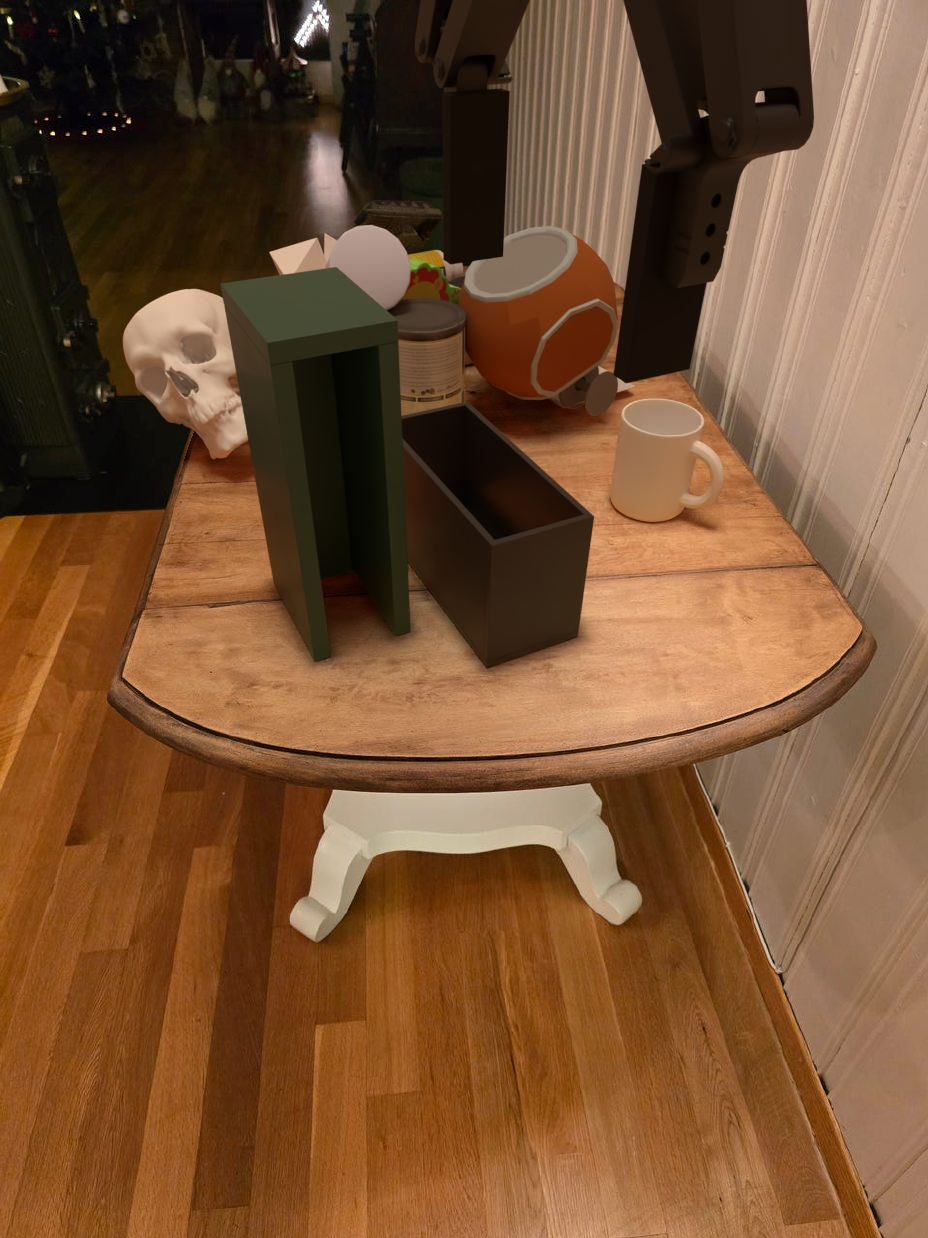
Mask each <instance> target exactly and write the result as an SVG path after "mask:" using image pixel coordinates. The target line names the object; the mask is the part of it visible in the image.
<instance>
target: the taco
mask: <svg viewBox="0 0 928 1238" xmlns="http://www.w3.org/2000/svg"><path fill="white" fill-rule="evenodd" d="M409 262H410V266H411V272H410V283H409V286H408V288H407V291H406V293H405V296H404V297H403V298H402V299H401V300H405V299H413V298H430V299H439V300H444V301H448V302H454V304H457V305H459V296H460V291H461V288H459V287H456V286H453V285H450V284H449V283H448V279H447V277H445V276H444V275H442V271H441V269H440V268H439V267H437V266H434V265H431V264H428V263H427V262H424V261H421V260H418V259H411V260H409ZM470 364H473V363H472V361H471V360H470V358H469V356H468V355H467V353H466V351H465V365H470Z"/></svg>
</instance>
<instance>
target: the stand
mask: <svg viewBox="0 0 928 1238" xmlns="http://www.w3.org/2000/svg"><path fill="white" fill-rule="evenodd" d="M220 291H221V296H222V298H223V302H224V307H225V313H226V318H227V324H228V330H229V335H230V341H231V346H232V352H233V358H234V363H235V369H236V375H237V380H238V386H239V391H240V397H241V403H242V408H243V414H244V419H245V425H246V431H247V436H248V441H247V442H248V448H249V453H250V459H251V464H252V470H253V474H254V481H255V487H256V492H257V498H258V502H259V509H260V514H261V520H262V526H263V531H264V537H265V541H266V548H267V554H268V559H269V564H270V571H271V577H272V581H273V582H272V583H273V585H274V588H275V589H276V591H277V593H278V595H279V597H280V598H281V600H282V602H283V605H284V606H285V608H286V610H287V612H288V614H289V616H290V617H291V619H292V621H293V623H294V626H295V627H296V629H297V632H298V633H299V635H300V637H301V639H302V641H303V643H304V644H305V647H306V648H307V650H308V652H309V654H310V656H311V658H312V659H313V662H320V661H323V660H324V659H328V658H331V656H332V654H331V647H330V641H329V639H330V638H329V631H328V624H327V615H326V609H325V608H326V607H325V600H324V592H323V585H322V581H324V580H328V579H331V578H335V577H339V576H342V575H345V574H348V573H352V572H353V574H355V576H356V578H357V579H358V581H359V582H360V584H361V585H362V587H363V588H364V590H365V592H366V593H367V595H368V597H369V598H370V600H371V602H373V604H374V606H375V607H376V609H377V610H378V612H379V614H381V616H382V617H383V619H384V621H385V622H386V624H387V625H388V627H389V629H390V630H391V632H392V633H393V635H394V636H395V637H397V636H401V635H404V634H407V633H410V632H412V631H411V611H410V609H411V608H410V587H409V583H410V582H409V563H408V558H407V535H406V511H405V487H404V464H403V440H402V416H401V392H400V369H399V345H398V341H399V339H398V320H397V319H396V318H395V317H393V316H392V315H391V314H390V313H389V312H388V311H387V310H385V309H384V308H383V307H382V306H381V305H380V304H379V303H377V302H376V301H375V300H374V299H373V298H372V297H370V296H369V295H368V294H367V293H366V292H365V291H364V290H362V289H361V288H360V287H359V286H358V285H357V284H355V283H354V282H353V281H352V280H351V279H350V278H349V277H347V276H346V275H345V274H344V273H343V272H342V271H341V270H339V269H338V268H337V267H333V268H326V269H319V270H312V271H305V272H298V273H291V274H284V275H279V274H277V275H270V276H265V277H257V278H250V279H243V280H236V281H229V282H222V283H220Z"/></svg>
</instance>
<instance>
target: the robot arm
mask: <svg viewBox="0 0 928 1238" xmlns="http://www.w3.org/2000/svg"><path fill="white" fill-rule="evenodd" d="M530 1H531V0H420V4H419V8H418V9H419V10H418V17H417V23H416V29H415V35H414V36H415V37H414V52H415V56H416V58H417V60H418V62H419V63H420V64H427V63H428V64H430V63H431V64H432V66H433V78H434V81H435V85H437V87H438V88H439V89H443V92H442V216H443V219H442V226H443V227H442V235H443V236H442V241H443V242H442V244H443V246H442V247H443V248H442V249H443V251H442V252H443V260H444V261H446V262H447V263H449V264H450V265H452V264H458V263H462V264H464V263H472V262H473V261H478V260H485V259H491V258H498V257H503V249H504V237H505V223H506V195H507V173H508V171H507V169H508V149H509V148H508V147H509V124H510V123H509V122H510V121H509V120H510V100H511V99H510V97H511V95H510V93H511V91H510V90H508V89H505V88H502V87H501V88H488V86H493V85H507V84H511V82H512V81H513V76H509V75H511V70H510V69H509V66H508V64H507V57H508V55H509V52H510V50H511V47H512V45H513V42H514V41H515V37H516V35H517V33H518V30H519V28H520V26H521V23H522V21H523V18H524V16H525V13H526V11H527V8H528V6H529V4H530ZM622 1H623V5H624V8H625V12H626V16H627V19H628V24H629V27H630V32H631V34H632V39H633V43H634V46H635V49H636V52H637V57H638V61H639V65H640V68H641V72H642V75H643V79H644V84H645V87H646V90H647V95H648V99H649V102H650V105H651V109H652V113H653V117H654V120H655V125H656V128H657V132H658V135H659V138H660V143H661V144H660V145H659V146H658V147H656V148H655V150H654V151H653V152H652V153H650V155H649V158H646V159H645V160H644V163H642V164H641V169H640V176H639V184H638V191H637V198H636V206H635V214H634V221H633V228H632V236H631V242H630V250H629V258H628V263H627V264H628V265H627V271H626V272H627V273H626V278H625V279H626V280H625V287H624V293H623V294H624V295H623V301H622V308H621V315H620V322H619V323H620V324H619V330H618V339H617V346H616V353H615V361H614V366H613V367H614V368H613V373H614V374H613V375H614V376H616V377H617V378H619V379H620V380H621V381H623V382H624V383H630V384H632V383H635V382H639V381H644V380H649V379H652V378H657V377H661V376H665V375H670V374H674V373H679V372H684V371H688V370H690V369H691V364H692V359H693V354H694V350H695V344H696V339H697V333H698V330H699V324H700V319H701V314H702V310H703V305H704V304H703V303H704V299H705V294H706V289H707V283H713V282H715V279H716V277H717V275H718V273H719V271H720V270H721V268H722V266H723V259H724V255H725V250H726V248H725V246H726V245H727V240H728V235H729V234H728V232H729V230H730V226H731V220H732V217H733V211H734V206H735V202H736V197H737V191H738V188H739V182H740V179H741V177H742V174H743V171H744V170H745V169H746V168H747V166H748V165H749V164H750V163H751V162H752V161H754V160H756V159H758V158H763V157H767V156H771V155H775V154H779V153H782V152H789V151H790V152H791V151H797V150H800V149H801V148H803V147H804V146H805V145H806V144H807V142H808V141H809V139H810V138H811V136H812V132H813V130H814V124H815V108H814V93H813V92H814V91H813V78H812V77H813V76H812V61H811V45H810V30H809V29H810V27H809V13H808V11H809V10H808V0H622ZM444 20H445V24H444V26H442V23H443V21H444ZM759 92H763V97H764V101H756V97H757V95H758V93H759ZM699 110H700V111H704V112H705V113H706V114H707V115H705V116H701V114H700V111H699Z"/></svg>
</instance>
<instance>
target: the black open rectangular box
mask: <svg viewBox="0 0 928 1238" xmlns="http://www.w3.org/2000/svg"><path fill="white" fill-rule="evenodd" d="M402 440H403V464H404V487H405V511H406V535H407V558H408V565H409V566H410V567H411V568H412V570H413V571H414V572H415V573H416V575H417V577H418V578H419V579H420V580H421V582H422V583H423V584H424V586H425V587H426V588H427V590H428V591H429V593H430V594H431V595H432V596H433V598H434V599H435V601H436V602H437V604H438V605H439V606H440V607H441V608H442V610H443V611H444V613H445V614H446V615H447V617H448V618H449V619H450V620H451V622H452V623H453V625H454V626H455V627H456V629H457V630H458V632H459V633H460V634H461V635H462V637H463V638H464V640H465V642H467V644H468V645H469V646H470V648H471V649H472V651H474V653H475V655H476V656H477V657H478V658H479V659H480V661H481V663H482V664H483V665H484V666H485V668H486V669H488V668H491V667H494V666H497V665H500V664H503V663H506V662H509V661H511V660H515V659H517V658H520V657H523V656H526V655H528V654H531V653H535V652H537V651H541V650H544V649H546V648H550V647H551V646H555V645H558V644H560V643H563V642H567V641H569V640H572V639H575V638H577V637H578V636H579V630H580V624H581V618H582V611H583V610H582V609H583V602H584V595H585V589H586V580H587V572H588V565H589V557H590V550H591V543H592V538H593V537H592V536H593V528H594V521H595V515H594V514H592V513H591V512H590V511H589V510H588V509H587V508H586V507H585V506H583V505H582V504H581V503H580V502H579V501H578V500H577V499H576V498H575V497H574V496H572V495H571V494H570V492H568V491H567V490H566V489H565V488H564V487H563V486H561V484H559V483H558V482H557V481H556V480H555V479H554V478H553V477H552V476H551V475H549V474H548V473H547V472H546V471H545V470H544V469H543V468H541V466H539V465H538V464H537V463H536V462H535V461H534V460H533V459H532V458H530V457H529V456H528V455H527V454H526V453H525V452H524V451H523V450H522V449H521V448H520V447H519V446H518V445H516V444H515V443H514V442H513V441H512V440H511V439H510V438H509V437H507V436H506V435H505V434H504V433H503V432H502V431H501V430H500V429H499V428H497V427H496V426H495V425H494V424H493V423H492V422H491V421H490V420H489V419H488V418H486V417H485V415H483V414H482V413H481V412H480V411H479V410H478V409H477V408H476V407H474V406H473V405H472V404H471V403H470V402H469V401H464V402H463V403H458V404H454V405H449V406H445V407H440V408H435V409H431V410H426V411H421V412H417V413H412V414H408V415H403V416H402Z"/></svg>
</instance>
